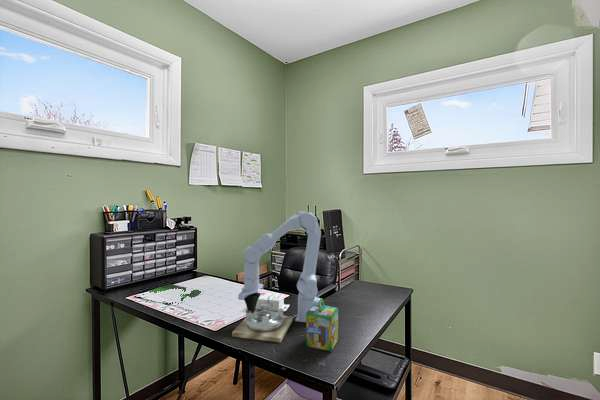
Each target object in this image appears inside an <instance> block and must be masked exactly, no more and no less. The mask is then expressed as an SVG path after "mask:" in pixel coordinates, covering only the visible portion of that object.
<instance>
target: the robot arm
mask: <svg viewBox="0 0 600 400" xmlns="http://www.w3.org/2000/svg"><path fill="white" fill-rule="evenodd" d="M301 228H302V229H303V230H304V231H305V232H306V234H307V242H306V249H305V254H304V261H303V268H302V272H301V273H300V276H299V279H298V280H297V283H296V288H297V290H298V295H297V315H296V317H295V318H294V319H295V320H294V321H295V322H300V323H306V312H307V311H308V310H309V309H310V308H311V307H312V306H313V305H314V304H317V305H318V301H319V300H320V299H321V298H322V297H321V298H320V297H317V294H318V290H319V289H318V285H317V284H318V282H317V277H316V272H317V264H318V259H319V250H320V245H321V238H322V237H321V236H322V231H321V230H322V229H321V227H320V225H319V222H318V218H317V216H315V214H314V213H312V212H310V211H304V210H299V211H297V212H296V213H295V214H293V215H292V216H290V217H289V218H288V219H287V220H285V221H284V222H283V223H282V224H281V225H279V226H278V227H277V228H276V229H275V230H274V231H272V232H271V233H268V232H267V233H265V234H263V233H262V234H261V235H260V238H259V239H257V240H256V241H255V242H252V243H251V245H249V246H247V247H246V248H245V249H244V250H243V253H242V254H243V257H244V258H245V259H244V265H243V266H244V267H243V269H244V270H243V287H241V292H239V293H238V297H237V298H238V299H237V300H239V301H244V302H245V303H244V304H245V305H246V309H247V310H251V313H254V312H256V309H255V308H256V304H257V301H258V299H259V297H260V293H261V292H260V291H261V290H263V289H264V284H263V283H261V282H260V265H259V264H260V263H259V262H260V260H261V257H262V256H263V255H264V254H266V253H267V252H268V251H270V250H271V249H272V248H273V247H275V246H276V243H277V240H279V239H280V238H281V237H283V236H284V235H286V234H287V233H288V232H290V231H291V230H292V229H301ZM320 305H322V303H321V304H320Z"/></svg>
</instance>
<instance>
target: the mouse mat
mask: <svg viewBox="0 0 600 400" xmlns="http://www.w3.org/2000/svg"><path fill="white" fill-rule="evenodd" d="M174 288H175V289H177V288H178V289H183V290H184V292H185V291H186V288H187V287H185V286H180V285H177V284H173V283H169V284H166V285H162V286H159V287H156V288H153V289H150V290H148V291H149V292H150V293H151V292H154V293H157V291H158V292H159V291H160V292H161V291H166V290H169V289H174ZM183 290H182V291H183ZM199 290H200V289H196V290H193V291H191V293H190V294H185V295H184V294H183V295H182V294H181V295H182V296H183V297H182V296H181V295H180V296H181V297H182V298H181V301H183V299H184V298H186V297H187V296H189V297H191V299H193V298H196V297H198V296H200V295H201V294H200V293H201V291H199ZM199 294H200V295H199ZM143 295H144V294H143ZM192 297H193V298H192ZM175 303H176V302H175ZM182 303H183V302H181V303H180V304H182ZM167 304H168V303H165V304H164V305H167ZM170 304H171V303H169V305H168V306H171V305H170ZM172 304H173V302H172ZM177 305H179V303H178V304H177Z"/></svg>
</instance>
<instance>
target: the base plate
mask: <svg viewBox="0 0 600 400" xmlns="http://www.w3.org/2000/svg"><path fill="white" fill-rule="evenodd" d="M293 321H294V316H290V315H283V325H282V326H281V327H280V328H278V329H276V330H273V331H268V332H257V331H253V330H250V329H248V328H247V327H246V317H244V319H243V320H242V321H241V322H240V324H239V325H237V326H236V328H235V329H233V331H232V332H231V337H234V338H242V339H251V340H258V341H266V342H273V343H274V342H275V343H282V341H283V340H284V337H285V335H286V334H287V332H288V330H289V329H290V326H292V323H293Z"/></svg>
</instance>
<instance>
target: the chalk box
mask: <svg viewBox="0 0 600 400" xmlns="http://www.w3.org/2000/svg"><path fill="white" fill-rule="evenodd" d="M320 304H321V305H320ZM305 324H306V325H305V326H306V327H305V333H306V334H305V335H306V337H305V339H306V340H305V347H308V348H313V349H318V350H322V351H326V352H330V353H332V351H333V350H334V348H335V346H336V345H337V342H338V341H339V308H338V307H334V306H330V305H325V301H324V299H323V298H322V297H321V299H320V300H319V301H318V305H317V304H314V305H313V306H312V307H311V308H310V309H309V310H308V311H307V312H306V322H305Z"/></svg>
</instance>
